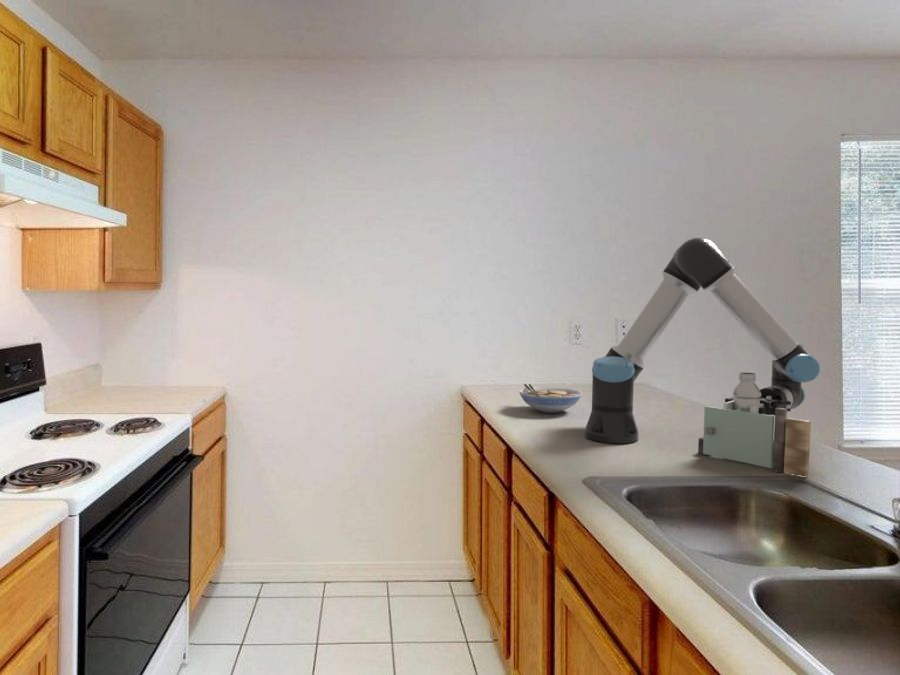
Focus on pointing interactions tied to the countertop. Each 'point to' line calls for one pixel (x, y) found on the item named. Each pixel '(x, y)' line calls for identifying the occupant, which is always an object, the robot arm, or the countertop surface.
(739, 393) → the plastic bottle
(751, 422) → the gate
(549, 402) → the ramen bowl
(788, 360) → the robot arm
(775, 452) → the brown wooden panel
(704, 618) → the countertop surface
